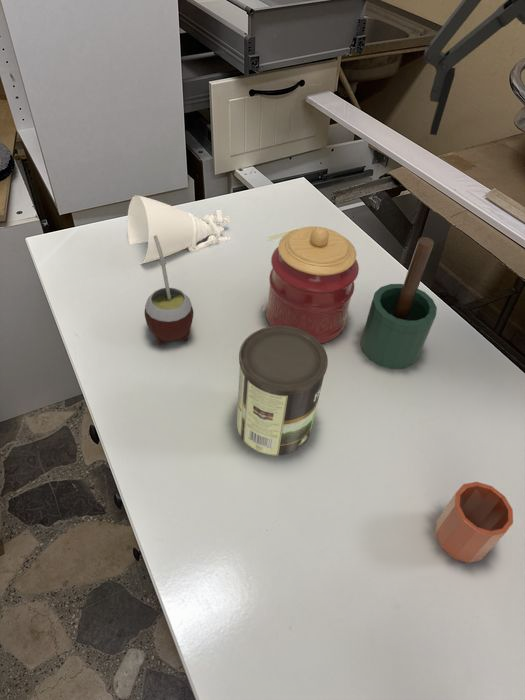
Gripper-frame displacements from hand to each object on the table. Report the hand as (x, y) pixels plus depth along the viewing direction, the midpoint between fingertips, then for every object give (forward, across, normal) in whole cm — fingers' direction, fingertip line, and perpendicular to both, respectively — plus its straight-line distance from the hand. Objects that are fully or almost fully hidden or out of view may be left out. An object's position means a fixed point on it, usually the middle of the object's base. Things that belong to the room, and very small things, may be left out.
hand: (492, 141), depth 61 cm
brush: (+32, -4, -4) cm, 33 cm away
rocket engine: (+32, -43, +8) cm, 55 cm away
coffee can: (+33, -17, -24) cm, 44 cm away
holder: (+33, +8, -33) cm, 47 cm away
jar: (+33, -4, -4) cm, 33 cm away
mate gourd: (+32, -37, -13) cm, 51 cm away
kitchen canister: (+33, -18, -2) cm, 37 cm away
